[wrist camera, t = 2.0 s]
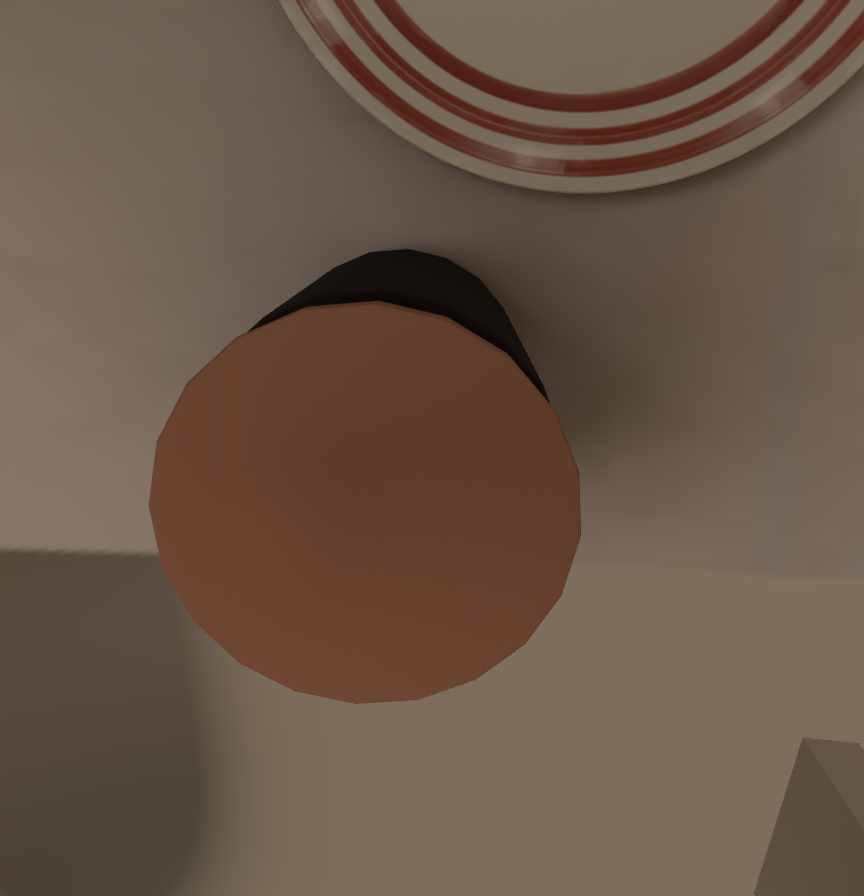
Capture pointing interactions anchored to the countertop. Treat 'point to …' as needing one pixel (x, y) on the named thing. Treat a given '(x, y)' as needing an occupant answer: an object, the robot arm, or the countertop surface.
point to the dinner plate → (584, 80)
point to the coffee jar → (369, 486)
